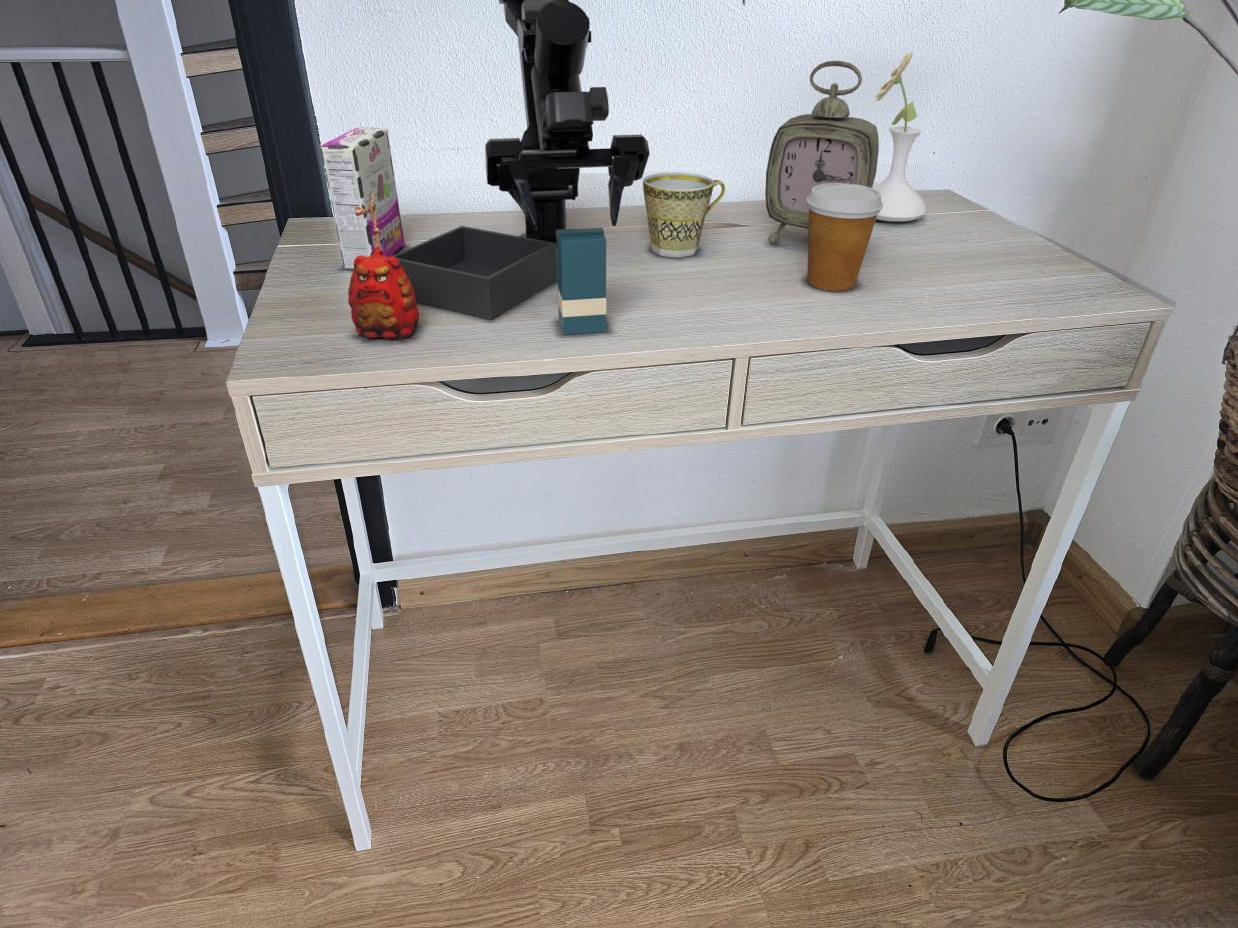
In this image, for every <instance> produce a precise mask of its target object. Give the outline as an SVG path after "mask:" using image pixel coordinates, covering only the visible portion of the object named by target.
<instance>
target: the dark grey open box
mask: <svg viewBox="0 0 1238 928" xmlns="http://www.w3.org/2000/svg"><path fill="white" fill-rule="evenodd" d="M520 236H521V235H513V234H509V233H503V232H498V231H491V230H487V229H482V228H476V227H471V226H466V225H460V226H458V227H456V228H453V229H451V230H449V231H447V232H444V233H442V234H439V235H437V236H435V237H432V238H430V239H427V240H425V241H423V242H421V243H418V244H417V245H413V246H412V247H409V248H407V249H404V250H402V251H400V252H396V253H395V254H394V255H393V256H394V257H396V258H398V261H399V265H400V266H401V267H402V268H403V269H404V271H405V273H406V275H407V276H408V278H409V280H410V282H411V284H412V287H413V290H414V293H415V299H416V303H418V304H421V305H422V304H423V305H427V306H430V307H431V306H432V307H435V308H439V309H444V310H449V311H451V312H452V311H453V312H457V313H460V314H465V315H470V316H473V317H478V318H482V319H487V320H491V321H492V320H494V319H496V318H498V317H499V316H501V315H502V314H504V313H506V312H507V311H509V310H511V309H512V308H514V307H516V306H517V305H519V304H521V303H522V302H524V301H526V300H527V299H529V298H531V297H532V296H534V295H536V294H538V293H539V292H541V291H542V290H544V289H546V288H548V287H549V286H551V285H553V284H554V283H556V282H558V275H557V246H556V243H552V242H547V241H541V240H536V239H530V238H525V237H520ZM393 256H391V257H393Z"/></svg>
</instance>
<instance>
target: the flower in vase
mask: <svg viewBox="0 0 1238 928" xmlns="http://www.w3.org/2000/svg"><path fill="white" fill-rule="evenodd" d="M912 58H913V51H910V52H907V53H906V54H905V55H903V58H902V59H901V62H900V64H899V66H898V67H894V69H893V70H892V72H891V73H890V78H889V79H888V80H887V81H885V82H884V83H883V84H882V85H881V86H880V90H879V92H878V93H877V94H876V95H875V96H874V98H876V100H875V101H878V102H879V101H881V100H882V99H883V98H884V97H885V96H886V95H887V94H888V93H889V91H890V90H891V89H892V88H893V87H894V86H895V85H899V86H900V89H901V92H902V95H903V101H904V107H903V108H901V109H900V111H899V112H898V113H897V115H896V116H895V118H894V119H893V121H892V123H891V125H892V126H891V127H889V128H888V130H889V133H890V134H891V137H892V143H893V149H892V150H893V151H892V160H891V166H890V170H889V172H888V175H886V177H885V179H884V180H882V181H881V182H879V183H878V184H877V185H876V186H873V187H872V188H873V189H875V190H877V191H879V192H880V193H881V202H882V203H883V207H882V209H881V210H880V212H879V213H878V215H877V217H876V220H877V221H884V222H892V223H893V222H894V223H895V222H896V223H897V222H899V223H900V222H903V223H904V222H910V221H911V222H912V221H915V220H918V219H921V218H922V217H923V216H924V215H925V214H927V212H928V210H927V205H926V203H925V201H924V200H923V198H922V197H921V196H920V195H919V193H917V191H916V190H915V189H914V188H913V187H912V186H911V185H910V183H908V181H907V178H906V168H907V162H908V159H909V156H910V152H911V150H912V148H913V145H914V142H915V141H916V139H917V138H918V137H919V136H920V135H921V134H922V132H923V129H920V128H918V127H913V126H908V122H911V121H914V120H915V119H916V118H917V116H918V114H917V111H916V108H915V105H914V102H913V101H911V102H909V103H908V99H907V95H906V90H905V86H904V83H903V77H902V74H903V73H904V72H905V70H906V69H907V67H908V65H909V64H910V62H911V60H912ZM901 120H903V121H904V125H901V126H898V125H897V124H898V123H899V122H900V121H901ZM896 125H897V126H896Z"/></svg>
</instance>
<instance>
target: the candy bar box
mask: <svg viewBox="0 0 1238 928" xmlns="http://www.w3.org/2000/svg"><path fill="white" fill-rule="evenodd" d="M390 145H391V144H390V138H389V131H388V128H380V127H362V126H361V127H355V128H353V129H351V130H349V131H347V132H345V133H343V134H341V135H339V136H337V137H334V138H333V139H331V140H329V141H327V142H325V143H322V144H321V145H320V146H319V148H320V154H321V157H322V161H323V167H324V172H325V178H326V183H327V188H328V192H329V193H328V194H329V197H330V203H331V207H332V211H333V218H334V222H335V229H336V233H337V237H338V238H337V239H338V244H339V250H340V254H341V259H342V265H343V269H345V270H350V271H351V270H352V271H354V260H355V259H356V257H357V256H359V255H361V256H367V257H368V256H372V255H373V253H374V252H375V251H374V244H375V235H374V232H373V229H374V226H373V222H372V218H371V214H370V213H366V214H362V215H360V216H356V211H355V208H356V207H357V206H358V207H360V208H361V209H366V210H367V209H369V204H370V203H371V201H372V200H371V199H372V198H371V195H370V194H371V193H372V194H373V195H374V204H373V205H375V204H376V206H375V208H376V219H377V228H378V229H379V230H380V235H379V237H378V239H379V242H380V245H381V248H382V251H383V253H384V255H385V256H387V257H391V256H393V255H395V254H397V253H398V252H399V251H400V250H401V249H402V248H403V247H405V245H406V243H405V239H404V238H405V237H404V232H403V226H402V217H401V212H400V206H399V205H400V204H399V198H398V192H397V191H398V190H397V185H396V178H395V172H394V171H395V170H394V165H393V158H392V151H391V146H390Z"/></svg>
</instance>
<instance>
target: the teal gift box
mask: <svg viewBox="0 0 1238 928" xmlns="http://www.w3.org/2000/svg"><path fill="white" fill-rule="evenodd" d="M556 242H557V246H556V251H557V291H556V293H557V305H558V322H559V325H560V328H561V331H562V334H563V335H564V336H565V335H567V336H568V335H580V334H594V333H595V334H596V333H606V332H607V309H608V308H607V301H608V300H607V238H606V236H605V230H604V228H603V227H602V226H601V227H584V228H581V227H580V228H566V229H559V230H556Z"/></svg>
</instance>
